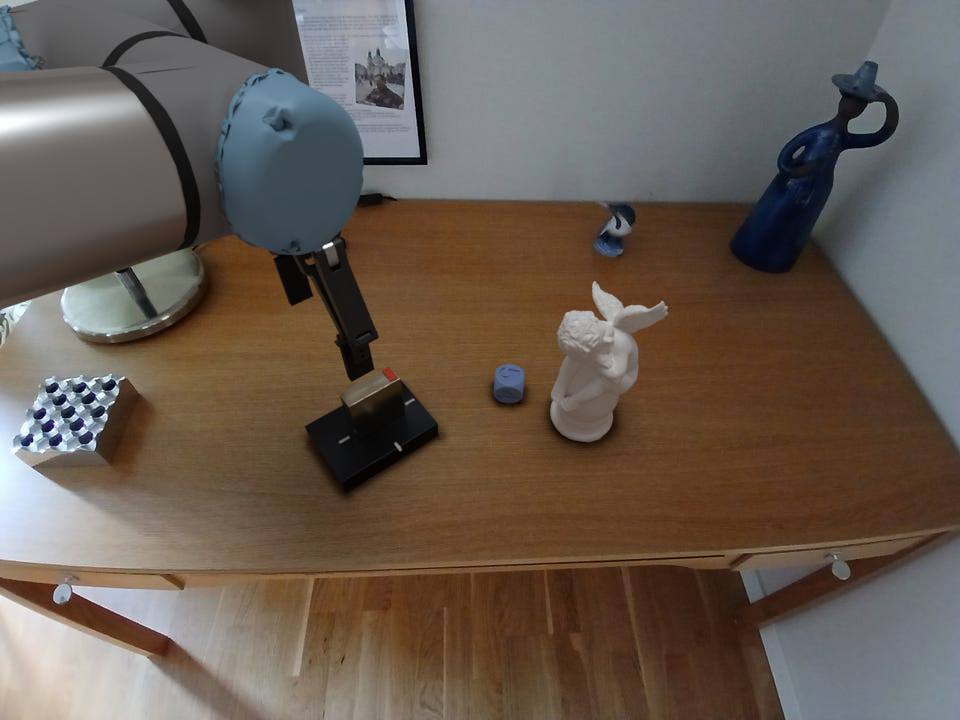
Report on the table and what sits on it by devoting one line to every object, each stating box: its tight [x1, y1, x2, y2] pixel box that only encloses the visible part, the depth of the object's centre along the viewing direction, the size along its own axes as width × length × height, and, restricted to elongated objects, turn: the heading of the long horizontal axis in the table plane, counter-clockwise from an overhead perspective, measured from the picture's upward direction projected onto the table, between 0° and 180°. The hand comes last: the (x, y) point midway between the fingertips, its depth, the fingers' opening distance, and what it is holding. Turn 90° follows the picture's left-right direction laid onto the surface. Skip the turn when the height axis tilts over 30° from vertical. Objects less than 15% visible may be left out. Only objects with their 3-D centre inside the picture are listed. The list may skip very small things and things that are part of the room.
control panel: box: [304, 378, 439, 494], centre depth 73 cm, size 14×11×3 cm
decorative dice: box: [493, 363, 526, 404], centre depth 78 cm, size 4×4×4 cm
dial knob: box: [338, 366, 405, 440], centre depth 69 cm, size 7×2×8 cm, turn 127°
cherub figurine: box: [549, 280, 669, 443], centre depth 69 cm, size 12×12×22 cm
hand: (329, 334), depth 61 cm, fingers open, 13 cm apart
